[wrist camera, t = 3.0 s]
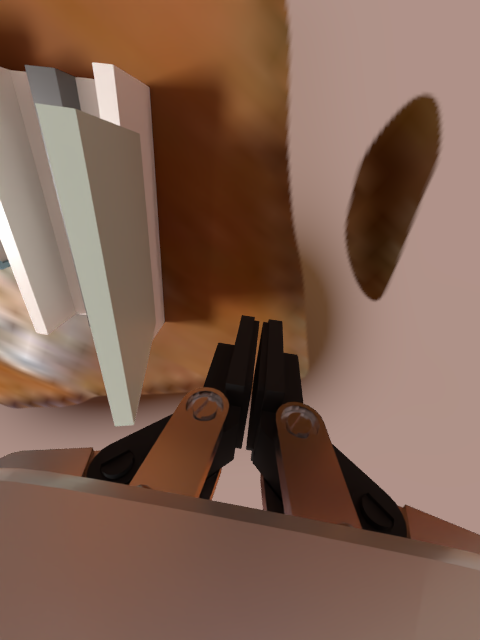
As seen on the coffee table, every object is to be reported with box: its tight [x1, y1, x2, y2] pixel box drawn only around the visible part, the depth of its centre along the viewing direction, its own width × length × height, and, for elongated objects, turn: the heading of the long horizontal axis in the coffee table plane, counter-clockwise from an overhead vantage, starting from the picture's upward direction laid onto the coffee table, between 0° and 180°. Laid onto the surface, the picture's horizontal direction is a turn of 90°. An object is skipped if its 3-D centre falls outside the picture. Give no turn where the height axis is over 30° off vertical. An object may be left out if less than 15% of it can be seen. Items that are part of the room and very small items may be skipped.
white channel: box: [0, 62, 165, 340], centre depth 22 cm, size 20×11×5 cm, turn 174°
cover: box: [35, 103, 156, 426], centre depth 15 cm, size 14×11×1 cm
